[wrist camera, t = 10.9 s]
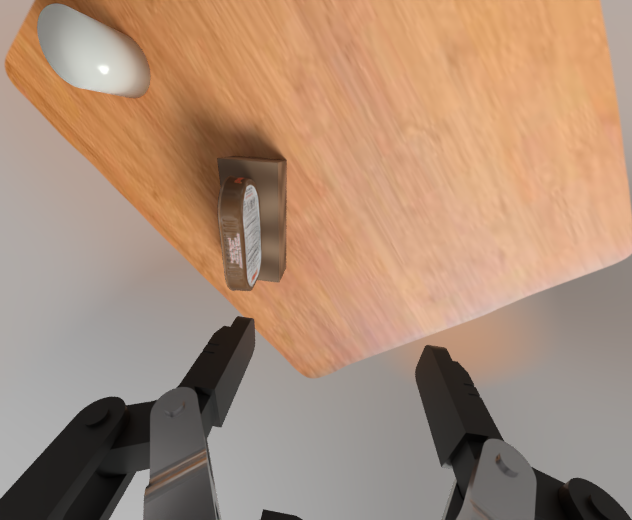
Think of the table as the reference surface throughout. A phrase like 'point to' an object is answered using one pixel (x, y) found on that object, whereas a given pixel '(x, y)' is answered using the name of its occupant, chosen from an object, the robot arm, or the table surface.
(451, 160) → the table surface
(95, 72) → the white rounded capsule
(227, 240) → the tin
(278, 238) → the brown rectangular block
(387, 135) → the table surface
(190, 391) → the robot arm
